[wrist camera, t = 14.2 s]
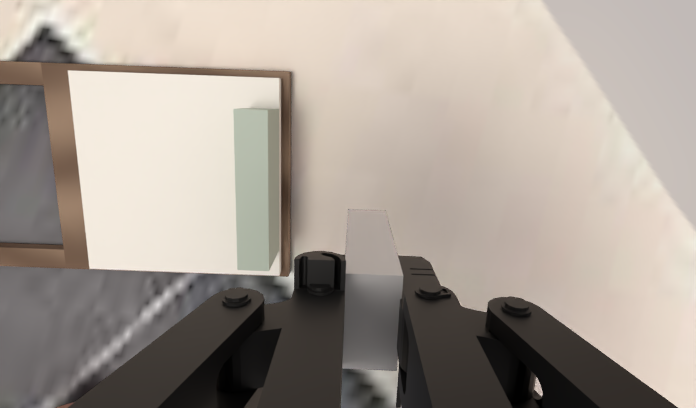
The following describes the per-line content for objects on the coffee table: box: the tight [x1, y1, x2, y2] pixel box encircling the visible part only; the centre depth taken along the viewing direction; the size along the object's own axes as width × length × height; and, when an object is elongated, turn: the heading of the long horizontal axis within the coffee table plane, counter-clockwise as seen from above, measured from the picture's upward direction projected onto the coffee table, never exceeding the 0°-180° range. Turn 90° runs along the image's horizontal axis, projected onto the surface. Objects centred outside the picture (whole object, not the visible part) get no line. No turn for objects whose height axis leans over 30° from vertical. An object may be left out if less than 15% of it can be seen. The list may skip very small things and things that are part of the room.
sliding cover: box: [68, 70, 281, 276], centre depth 29 cm, size 14×14×5 cm
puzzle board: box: [0, 61, 291, 277], centre depth 32 cm, size 15×30×1 cm, turn 88°
